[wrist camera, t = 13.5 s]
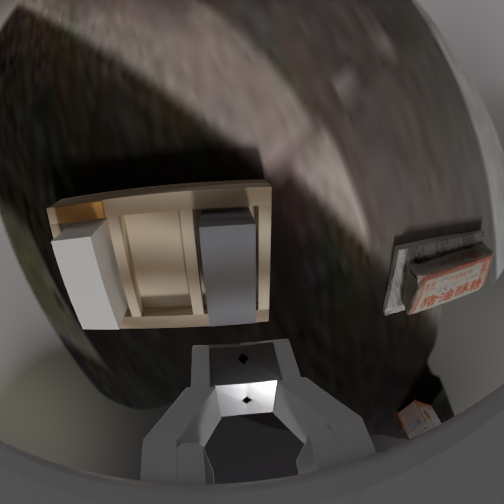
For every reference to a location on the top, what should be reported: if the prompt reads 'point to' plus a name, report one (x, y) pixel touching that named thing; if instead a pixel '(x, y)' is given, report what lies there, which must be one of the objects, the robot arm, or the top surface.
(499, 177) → the top surface
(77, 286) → the white rectangular block
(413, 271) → the packaged product
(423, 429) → the cracker box
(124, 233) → the rack
